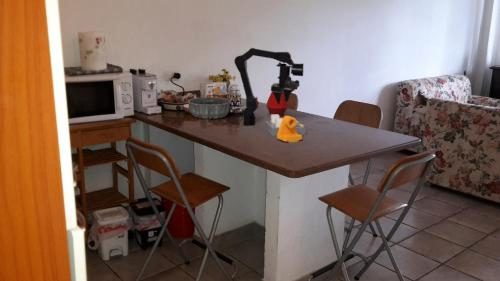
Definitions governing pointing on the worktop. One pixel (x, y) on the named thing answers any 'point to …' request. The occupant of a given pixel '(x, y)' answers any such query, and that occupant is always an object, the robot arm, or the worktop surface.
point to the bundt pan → (209, 107)
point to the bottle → (274, 106)
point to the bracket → (288, 130)
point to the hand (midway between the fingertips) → (282, 102)
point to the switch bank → (274, 130)
